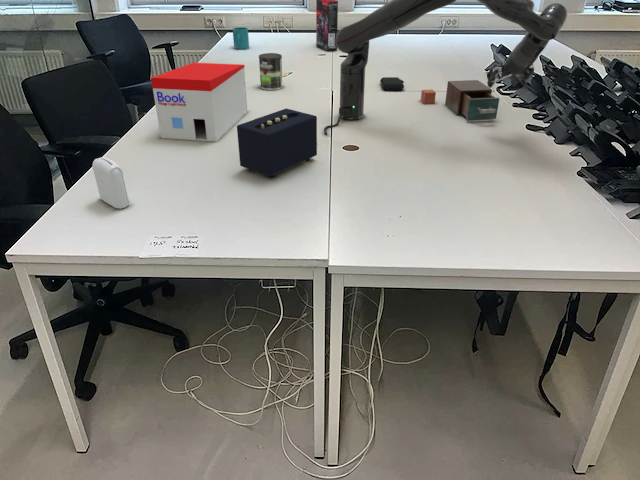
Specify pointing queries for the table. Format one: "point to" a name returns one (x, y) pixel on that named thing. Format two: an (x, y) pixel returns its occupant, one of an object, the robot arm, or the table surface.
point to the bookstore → (199, 100)
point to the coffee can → (270, 71)
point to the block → (428, 96)
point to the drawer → (479, 105)
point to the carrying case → (392, 83)
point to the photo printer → (110, 182)
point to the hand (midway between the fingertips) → (500, 84)
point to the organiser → (461, 87)
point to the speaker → (277, 141)
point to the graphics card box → (326, 24)
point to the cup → (240, 38)
